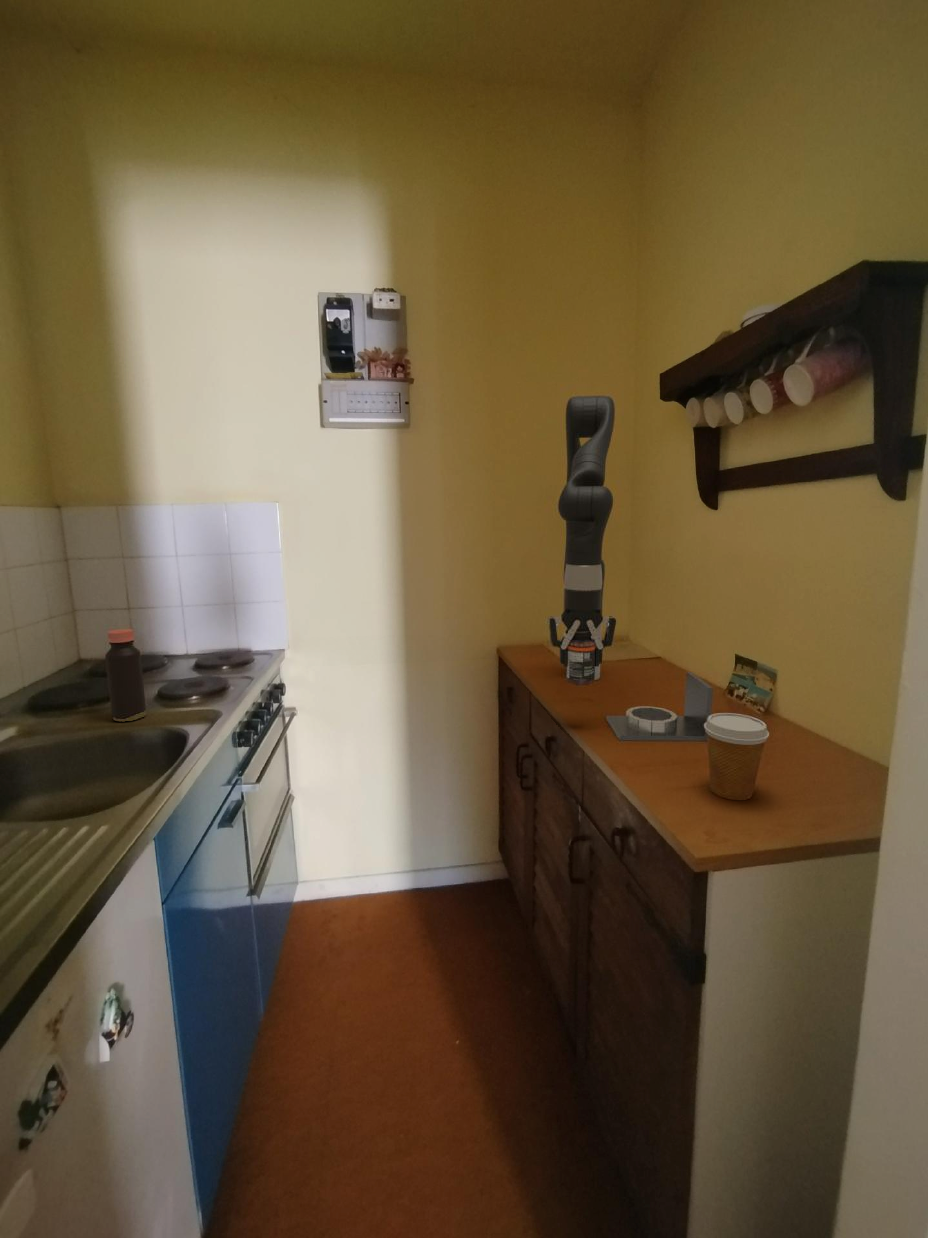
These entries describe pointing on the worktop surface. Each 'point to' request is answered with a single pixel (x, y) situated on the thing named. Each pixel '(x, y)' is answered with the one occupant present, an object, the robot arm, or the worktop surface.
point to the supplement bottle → (581, 659)
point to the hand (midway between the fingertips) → (580, 665)
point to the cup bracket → (668, 717)
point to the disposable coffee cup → (734, 753)
